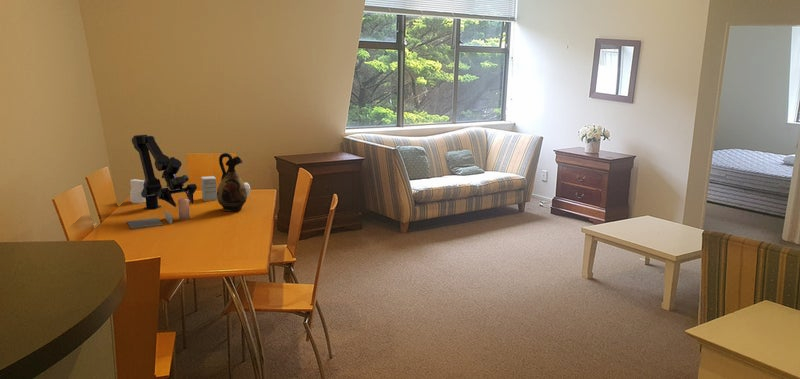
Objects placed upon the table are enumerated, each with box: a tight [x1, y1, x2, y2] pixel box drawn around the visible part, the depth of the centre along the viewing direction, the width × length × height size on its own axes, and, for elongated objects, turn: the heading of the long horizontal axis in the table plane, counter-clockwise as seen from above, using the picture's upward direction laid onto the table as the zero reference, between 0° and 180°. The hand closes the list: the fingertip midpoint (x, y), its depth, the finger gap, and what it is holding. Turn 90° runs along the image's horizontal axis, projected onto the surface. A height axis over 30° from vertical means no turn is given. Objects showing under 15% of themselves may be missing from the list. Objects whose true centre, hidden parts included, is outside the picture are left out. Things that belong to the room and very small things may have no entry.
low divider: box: [164, 210, 173, 225], centre depth 289 cm, size 12×1×4 cm, turn 32°
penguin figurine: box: [243, 182, 251, 198], centre depth 340 cm, size 6×8×12 cm
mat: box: [126, 217, 164, 230], centre depth 284 cm, size 14×14×1 cm
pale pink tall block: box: [177, 197, 191, 221], centre depth 292 cm, size 5×5×10 cm
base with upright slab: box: [129, 178, 146, 204], centre depth 327 cm, size 9×9×12 cm
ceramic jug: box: [216, 152, 248, 213], centre depth 310 cm, size 17×15×30 cm
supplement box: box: [200, 175, 218, 202], centre depth 335 cm, size 7×7×13 cm
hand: (184, 204), depth 291 cm, fingers open, 9 cm apart
